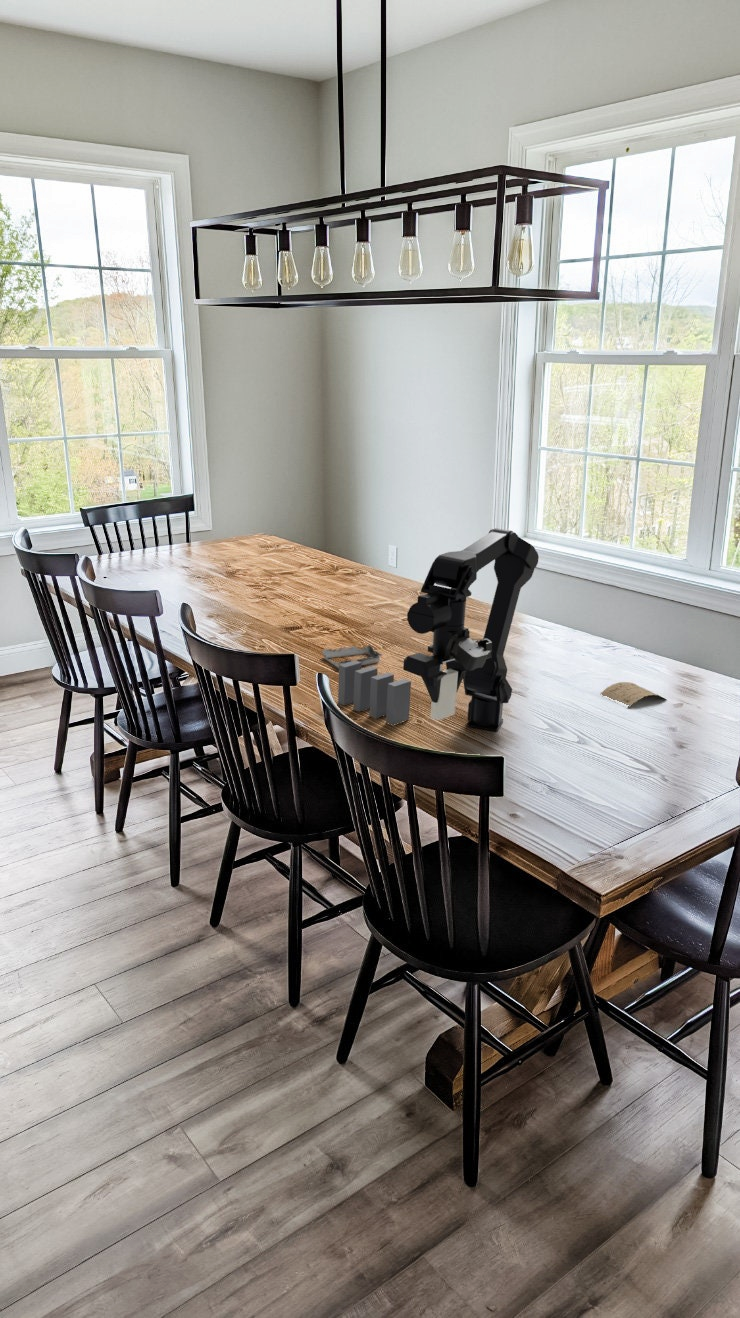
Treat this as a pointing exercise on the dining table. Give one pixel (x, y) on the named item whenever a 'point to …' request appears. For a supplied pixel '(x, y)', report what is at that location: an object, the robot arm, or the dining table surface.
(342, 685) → the domino
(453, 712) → the loose domino
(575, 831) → the dining table surface
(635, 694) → the tan curved piece
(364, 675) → the domino
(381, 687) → the domino
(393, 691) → the domino
